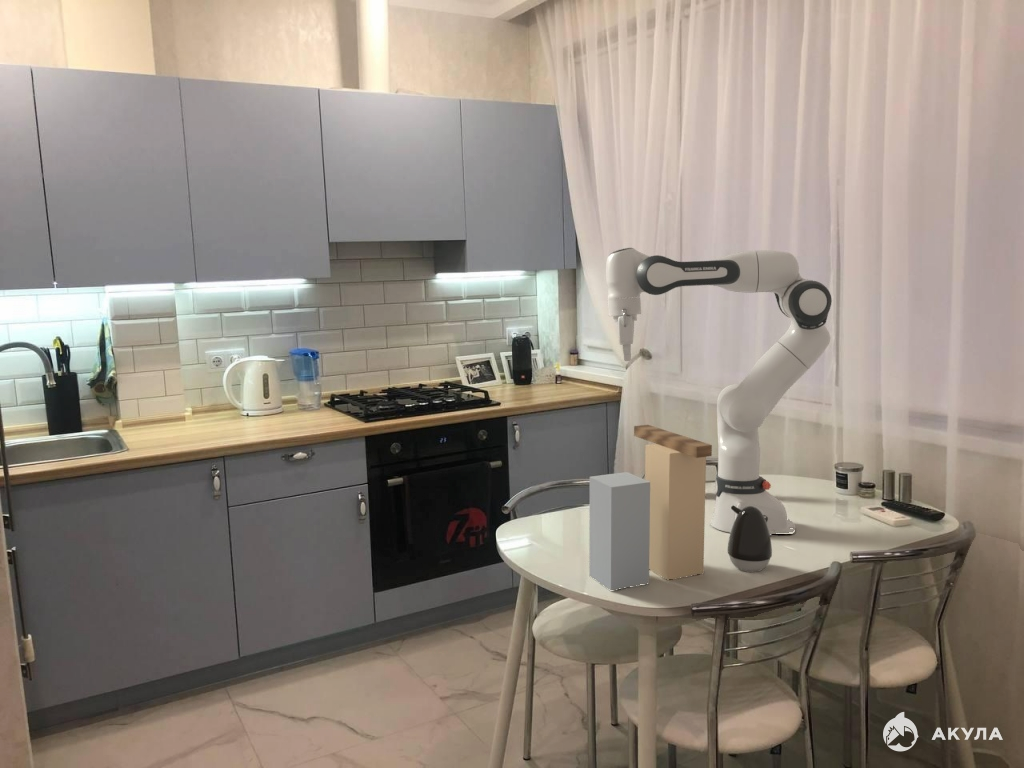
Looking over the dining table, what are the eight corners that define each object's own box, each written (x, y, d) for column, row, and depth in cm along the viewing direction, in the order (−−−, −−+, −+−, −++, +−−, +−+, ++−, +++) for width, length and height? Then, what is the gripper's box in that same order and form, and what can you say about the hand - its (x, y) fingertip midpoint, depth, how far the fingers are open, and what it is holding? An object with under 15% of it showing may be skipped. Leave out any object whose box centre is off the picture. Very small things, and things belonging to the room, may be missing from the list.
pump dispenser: (741, 557, 202) (743, 497, 200) (779, 568, 195) (781, 506, 192) (717, 567, 196) (719, 506, 194) (755, 579, 188) (757, 515, 186)
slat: (634, 435, 203) (634, 426, 203) (647, 434, 205) (647, 424, 204) (696, 457, 179) (696, 446, 179) (711, 456, 181) (711, 445, 180)
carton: (643, 566, 197) (645, 444, 193) (678, 559, 201) (680, 440, 197) (667, 580, 188) (669, 453, 184) (703, 573, 192) (706, 449, 187)
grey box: (589, 576, 191) (589, 476, 188) (626, 569, 195) (627, 471, 192) (610, 591, 182) (611, 487, 179) (648, 584, 186) (650, 482, 183)
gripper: (636, 308, 211) (639, 361, 212) (636, 307, 231) (639, 356, 232) (611, 310, 211) (615, 363, 213) (613, 309, 232) (616, 357, 233)
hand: (627, 359), depth 222 cm, fingers open, 8 cm apart
